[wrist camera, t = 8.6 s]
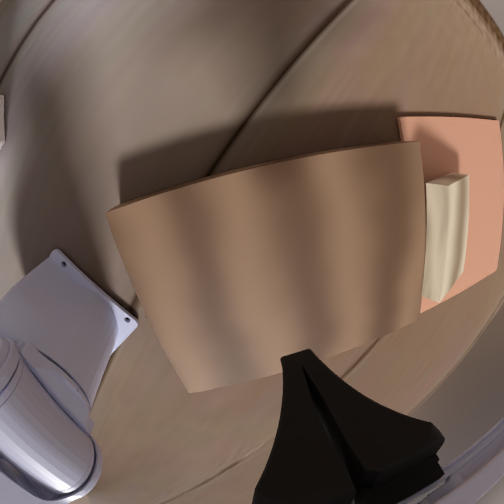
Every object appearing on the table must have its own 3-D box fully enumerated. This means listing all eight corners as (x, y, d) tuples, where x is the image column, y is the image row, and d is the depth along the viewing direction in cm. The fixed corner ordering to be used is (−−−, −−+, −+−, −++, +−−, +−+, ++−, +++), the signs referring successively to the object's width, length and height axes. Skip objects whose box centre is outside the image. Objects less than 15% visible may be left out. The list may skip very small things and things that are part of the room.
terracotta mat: (405, 317, 25) (407, 319, 25) (396, 117, 18) (399, 117, 18) (494, 268, 26) (496, 270, 26) (496, 120, 19) (498, 120, 19)
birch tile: (421, 296, 21) (439, 303, 19) (425, 183, 17) (448, 185, 15) (448, 266, 24) (463, 271, 22) (451, 172, 20) (469, 174, 18)
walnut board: (190, 370, 24) (189, 393, 21) (120, 204, 18) (105, 212, 15) (402, 304, 25) (419, 319, 22) (396, 140, 19) (419, 141, 16)
